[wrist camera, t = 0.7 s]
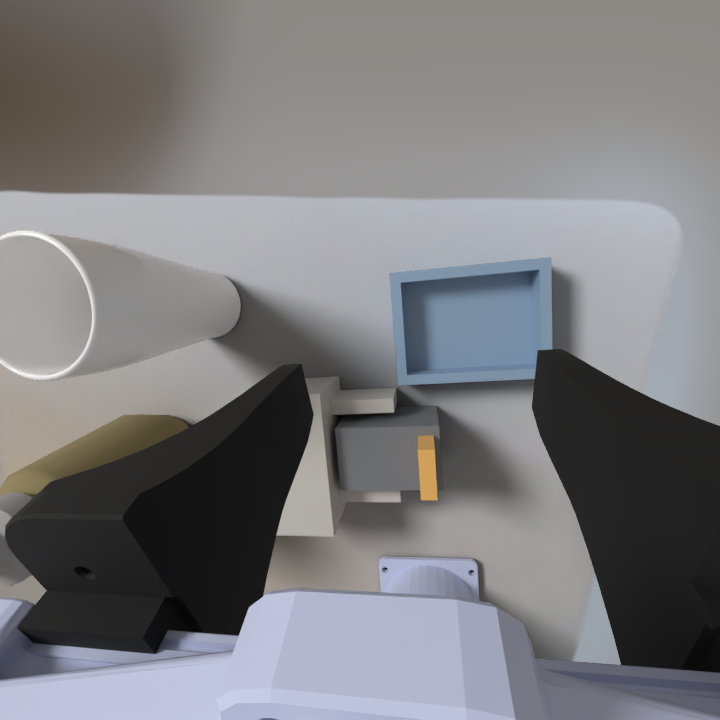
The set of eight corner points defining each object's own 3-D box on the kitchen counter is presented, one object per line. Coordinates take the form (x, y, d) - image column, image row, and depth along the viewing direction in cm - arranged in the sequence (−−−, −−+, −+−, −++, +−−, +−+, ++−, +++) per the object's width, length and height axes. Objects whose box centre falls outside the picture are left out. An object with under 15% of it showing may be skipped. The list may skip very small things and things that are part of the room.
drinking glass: (266, 291, 30) (122, 282, 16) (228, 361, 32) (63, 412, 17) (197, 246, 31) (-6, 196, 16) (162, 317, 32) (-54, 330, 18)
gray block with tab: (353, 461, 32) (332, 509, 24) (348, 408, 31) (325, 441, 24) (439, 460, 30) (445, 510, 23) (436, 405, 30) (441, 439, 22)
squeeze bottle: (229, 457, 33) (13, 634, 16) (167, 504, 35) (-91, 709, 17) (172, 384, 33) (-112, 478, 15) (113, 434, 35) (-203, 570, 17)
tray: (541, 371, 28) (552, 378, 26) (399, 378, 30) (397, 385, 27) (539, 261, 27) (551, 257, 24) (392, 275, 29) (389, 273, 26)
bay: (404, 493, 31) (399, 538, 25) (293, 493, 33) (265, 535, 27) (395, 373, 30) (389, 390, 24) (280, 379, 31) (247, 397, 25)
